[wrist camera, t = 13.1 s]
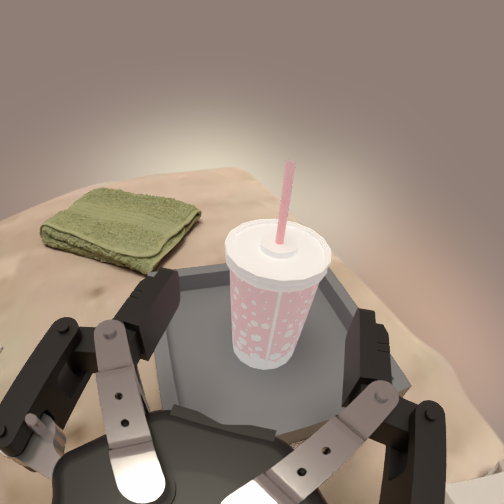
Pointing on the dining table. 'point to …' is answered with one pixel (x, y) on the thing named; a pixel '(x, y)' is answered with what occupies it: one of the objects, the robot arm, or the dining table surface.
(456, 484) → the origami figure
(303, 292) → the beverage cup
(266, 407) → the grey tray
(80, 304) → the dining table surface
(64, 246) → the washcloth
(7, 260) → the dining table surface
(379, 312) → the dining table surface
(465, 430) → the dining table surface
